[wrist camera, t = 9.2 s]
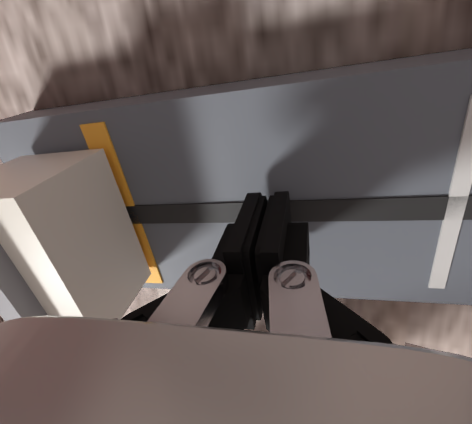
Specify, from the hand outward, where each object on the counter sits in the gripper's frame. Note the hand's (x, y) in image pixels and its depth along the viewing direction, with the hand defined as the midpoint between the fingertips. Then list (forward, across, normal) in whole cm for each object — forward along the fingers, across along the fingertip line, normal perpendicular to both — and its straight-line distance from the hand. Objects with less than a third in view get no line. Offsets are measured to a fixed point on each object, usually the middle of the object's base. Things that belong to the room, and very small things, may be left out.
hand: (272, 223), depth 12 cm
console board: (+4, 0, 0) cm, 4 cm away
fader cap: (0, +9, 0) cm, 9 cm away
